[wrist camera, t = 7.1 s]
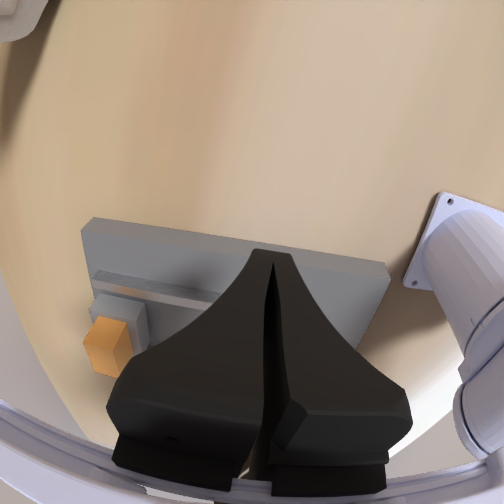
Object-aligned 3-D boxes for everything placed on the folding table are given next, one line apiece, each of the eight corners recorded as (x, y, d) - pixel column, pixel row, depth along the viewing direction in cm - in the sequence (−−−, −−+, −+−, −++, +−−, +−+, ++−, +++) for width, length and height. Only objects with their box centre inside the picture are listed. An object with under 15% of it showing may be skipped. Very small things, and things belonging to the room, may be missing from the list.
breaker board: (384, 262, 22) (395, 290, 19) (326, 379, 30) (328, 405, 27) (93, 217, 21) (72, 238, 19) (118, 344, 30) (107, 368, 27)
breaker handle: (145, 302, 22) (122, 350, 18) (150, 339, 25) (132, 385, 21) (99, 292, 22) (72, 335, 18) (108, 329, 25) (87, 371, 21)
